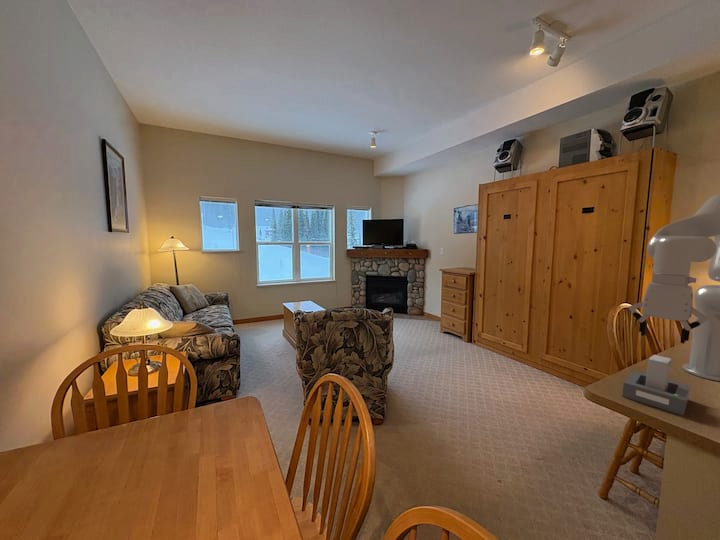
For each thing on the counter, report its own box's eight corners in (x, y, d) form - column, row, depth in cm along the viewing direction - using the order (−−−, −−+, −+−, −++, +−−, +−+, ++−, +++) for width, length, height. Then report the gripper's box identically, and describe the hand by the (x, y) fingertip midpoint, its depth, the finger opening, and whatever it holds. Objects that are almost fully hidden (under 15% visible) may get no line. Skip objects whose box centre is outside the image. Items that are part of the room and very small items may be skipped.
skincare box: (662, 402, 90) (667, 363, 89) (643, 396, 94) (648, 358, 92) (667, 396, 94) (672, 358, 92) (648, 390, 97) (652, 354, 96)
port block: (631, 383, 103) (633, 369, 102) (688, 399, 93) (690, 384, 92) (622, 396, 95) (623, 381, 94) (683, 416, 85) (685, 399, 84)
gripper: (716, 282, 85) (707, 343, 87) (633, 275, 98) (627, 328, 100) (714, 285, 80) (705, 350, 82) (627, 277, 94) (621, 333, 96)
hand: (662, 338), depth 91 cm, fingers open, 7 cm apart
